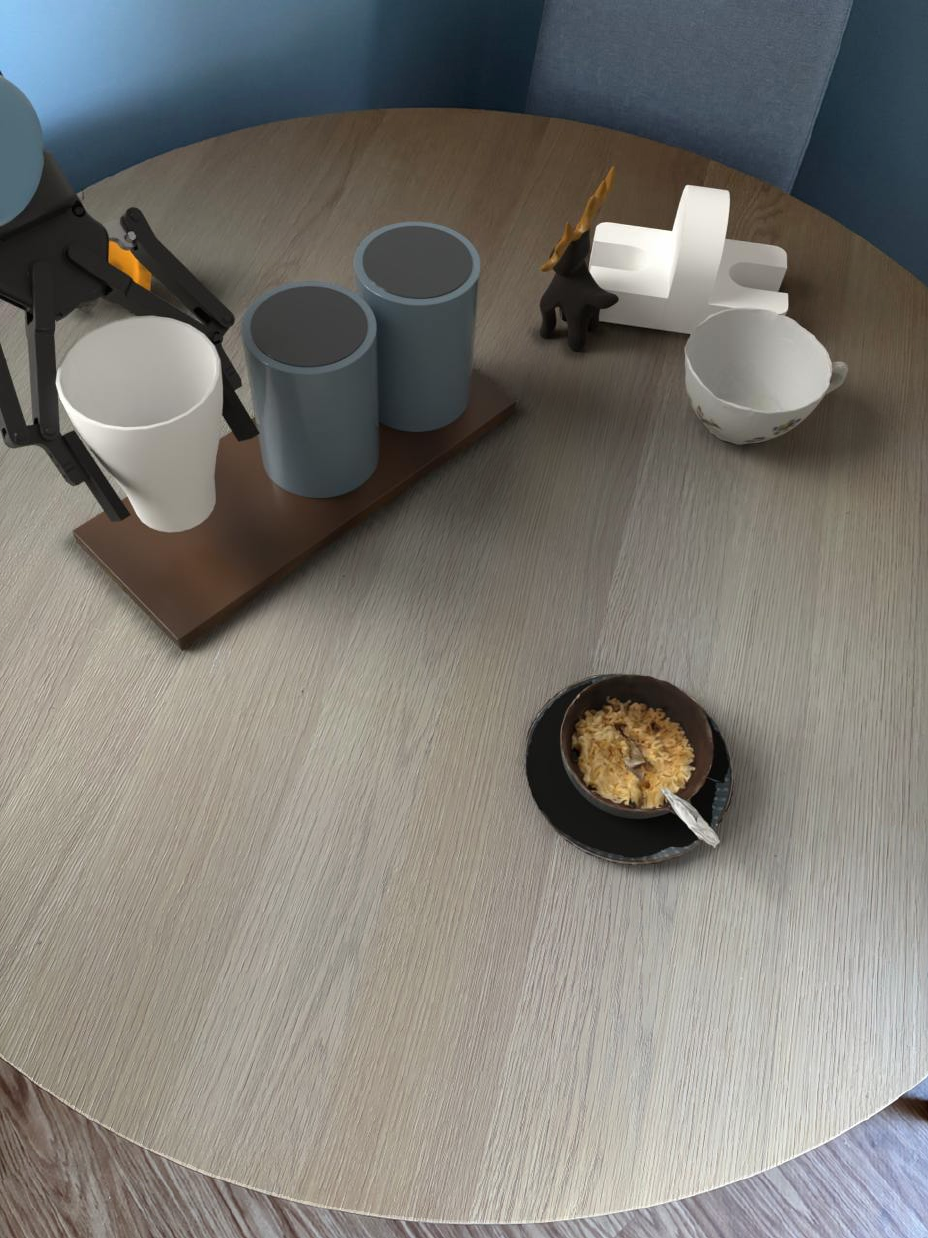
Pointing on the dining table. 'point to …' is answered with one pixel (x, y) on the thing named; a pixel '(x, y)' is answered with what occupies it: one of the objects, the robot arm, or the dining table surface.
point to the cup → (149, 413)
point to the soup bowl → (629, 768)
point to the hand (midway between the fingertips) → (187, 476)
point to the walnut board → (265, 523)
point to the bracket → (685, 268)
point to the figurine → (576, 279)
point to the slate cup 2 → (421, 320)
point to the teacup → (756, 374)
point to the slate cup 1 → (314, 386)
